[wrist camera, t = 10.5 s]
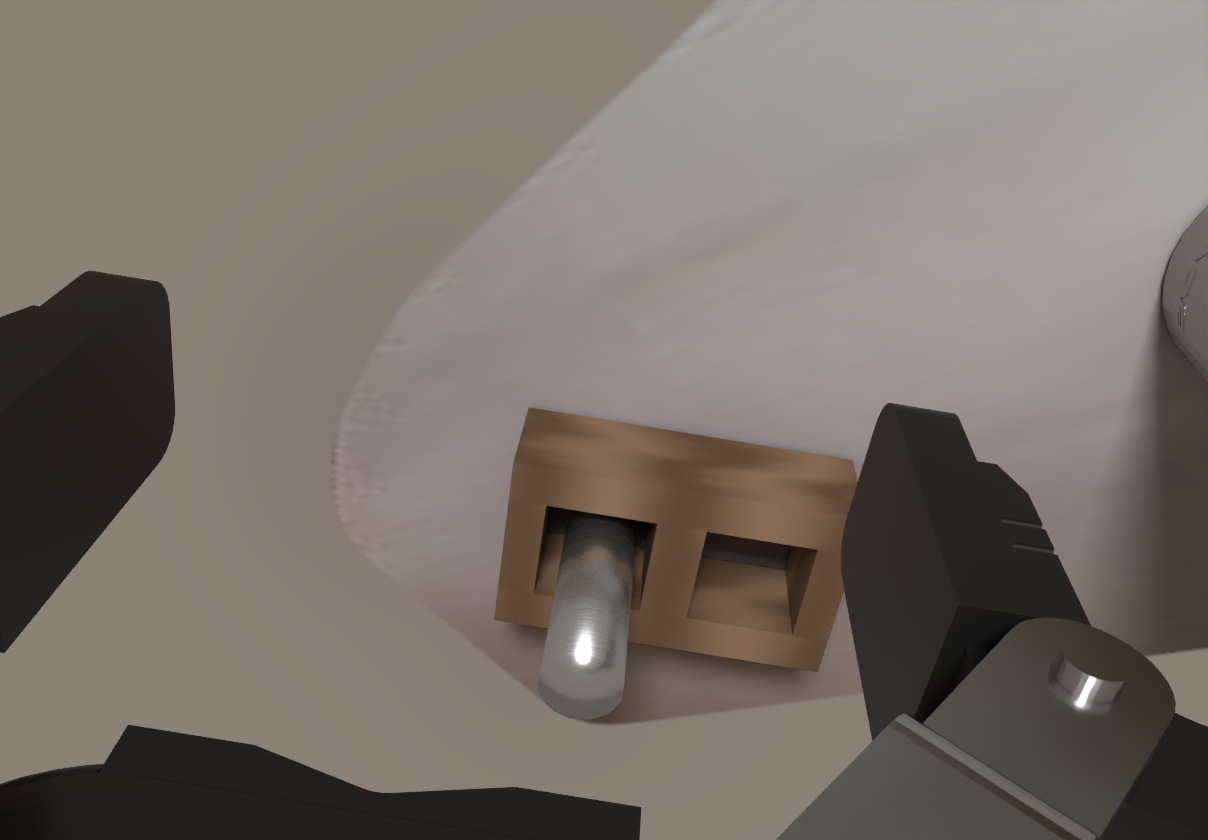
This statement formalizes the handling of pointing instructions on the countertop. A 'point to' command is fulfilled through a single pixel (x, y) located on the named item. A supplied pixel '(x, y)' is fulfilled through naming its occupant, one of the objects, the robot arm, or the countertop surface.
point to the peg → (590, 617)
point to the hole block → (684, 534)
